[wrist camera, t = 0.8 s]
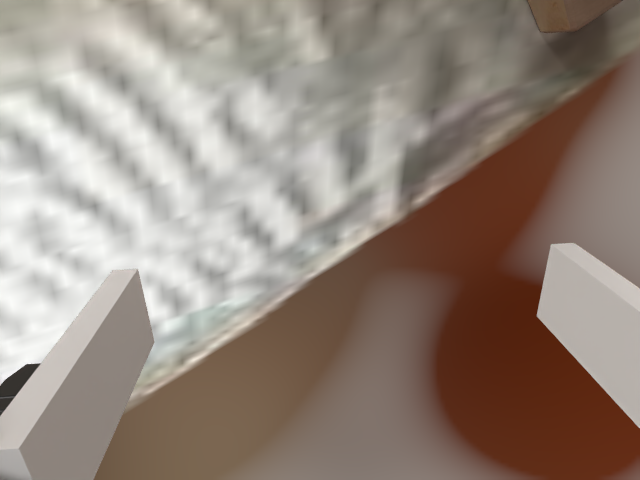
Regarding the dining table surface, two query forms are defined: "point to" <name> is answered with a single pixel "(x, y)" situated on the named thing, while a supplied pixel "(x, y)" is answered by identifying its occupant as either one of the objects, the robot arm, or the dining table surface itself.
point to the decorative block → (567, 13)
